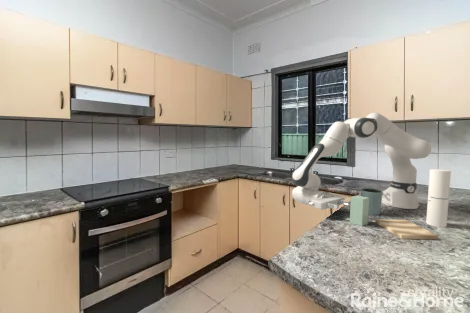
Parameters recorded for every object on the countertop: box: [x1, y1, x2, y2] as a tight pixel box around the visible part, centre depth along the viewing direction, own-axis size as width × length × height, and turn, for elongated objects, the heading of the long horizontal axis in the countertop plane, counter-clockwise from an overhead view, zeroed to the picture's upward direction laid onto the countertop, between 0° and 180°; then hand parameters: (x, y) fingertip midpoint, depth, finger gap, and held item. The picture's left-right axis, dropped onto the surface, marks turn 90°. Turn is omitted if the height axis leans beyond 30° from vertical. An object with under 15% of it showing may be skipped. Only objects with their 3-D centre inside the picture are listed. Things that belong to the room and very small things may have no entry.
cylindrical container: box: [425, 168, 452, 228], centre depth 107 cm, size 7×7×25 cm
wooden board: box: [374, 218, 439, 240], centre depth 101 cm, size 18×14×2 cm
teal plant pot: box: [360, 187, 384, 216], centre depth 124 cm, size 10×10×12 cm
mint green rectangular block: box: [349, 194, 369, 227], centre depth 109 cm, size 6×6×12 cm
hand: (343, 205), depth 115 cm, fingers open, 8 cm apart
